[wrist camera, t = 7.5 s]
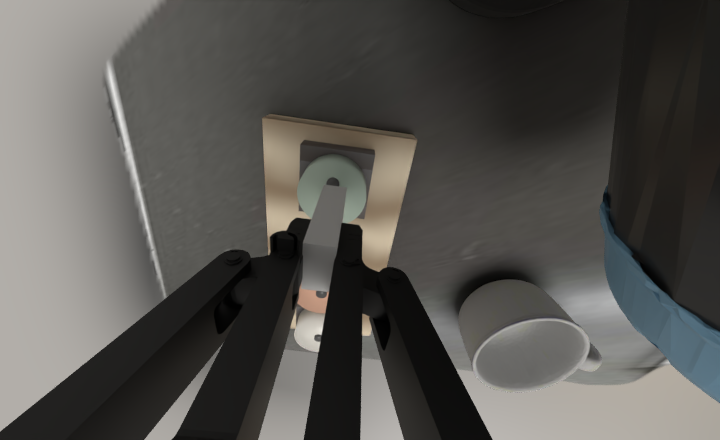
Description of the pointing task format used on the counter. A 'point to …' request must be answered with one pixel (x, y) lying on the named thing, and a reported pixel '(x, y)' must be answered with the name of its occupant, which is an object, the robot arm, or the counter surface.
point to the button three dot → (313, 300)
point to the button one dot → (309, 330)
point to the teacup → (522, 338)
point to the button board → (362, 145)
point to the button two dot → (333, 184)
